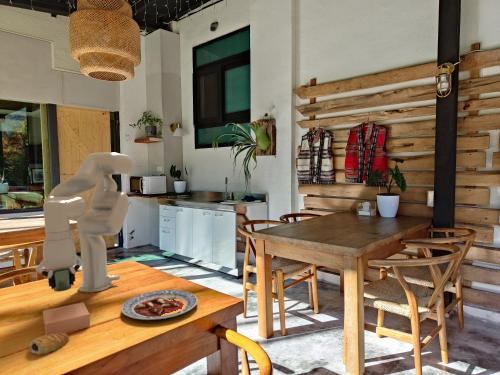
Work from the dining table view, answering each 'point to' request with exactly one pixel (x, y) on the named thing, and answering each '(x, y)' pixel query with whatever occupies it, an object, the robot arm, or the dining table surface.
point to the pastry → (48, 343)
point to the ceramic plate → (158, 304)
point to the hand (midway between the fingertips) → (62, 285)
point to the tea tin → (61, 279)
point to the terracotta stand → (66, 318)
